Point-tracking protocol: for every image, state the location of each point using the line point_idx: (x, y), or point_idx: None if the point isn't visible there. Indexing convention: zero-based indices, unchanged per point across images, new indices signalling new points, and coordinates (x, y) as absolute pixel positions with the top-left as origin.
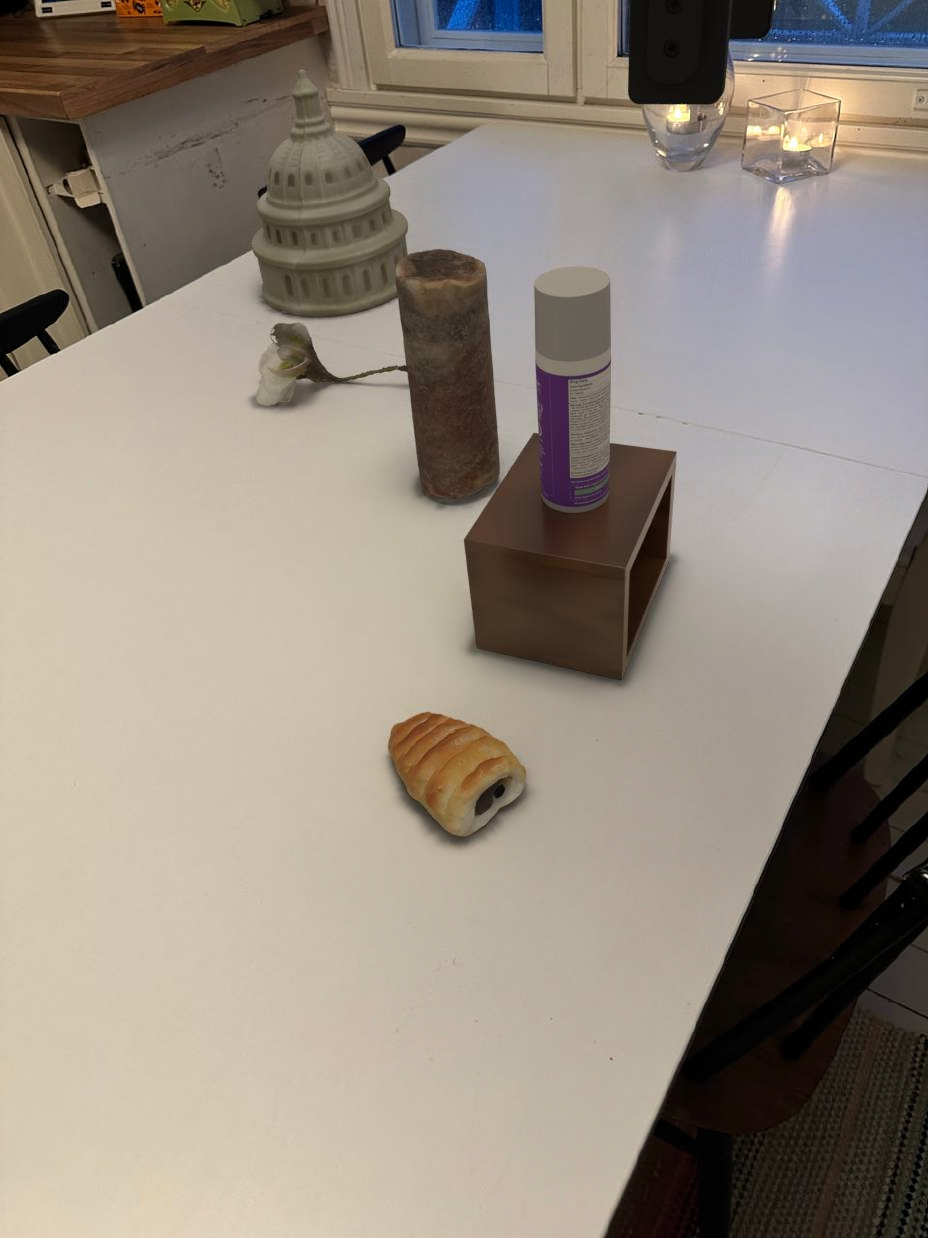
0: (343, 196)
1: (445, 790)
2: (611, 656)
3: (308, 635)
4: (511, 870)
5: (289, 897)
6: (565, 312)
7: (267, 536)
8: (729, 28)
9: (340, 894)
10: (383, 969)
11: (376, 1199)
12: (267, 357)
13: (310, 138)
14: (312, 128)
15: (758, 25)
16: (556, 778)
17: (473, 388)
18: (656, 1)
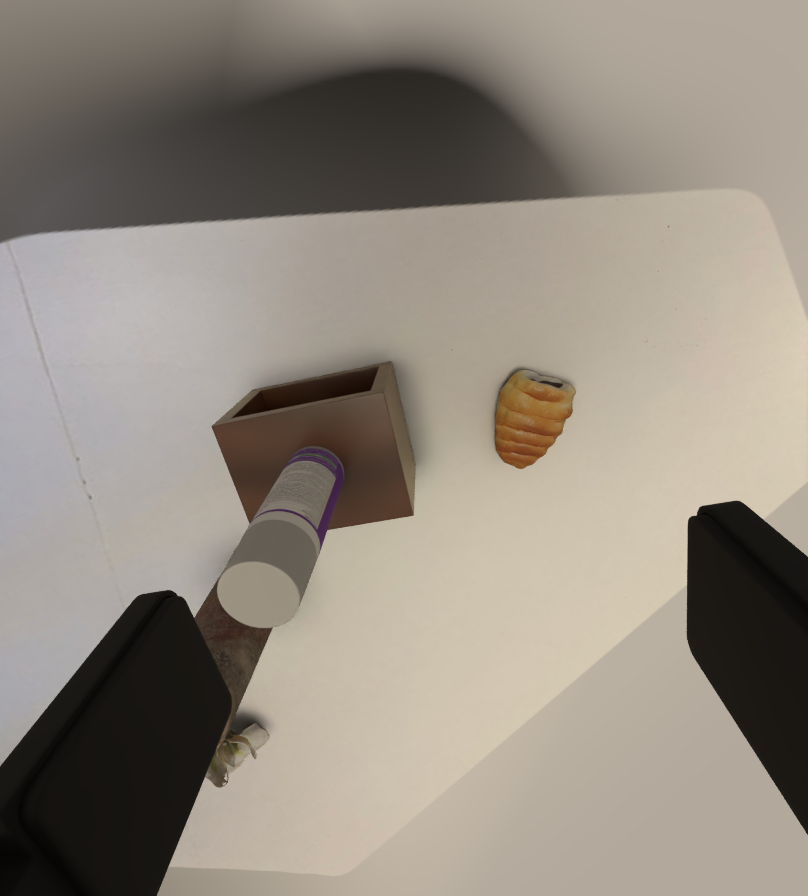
0: None
1: (566, 408)
2: (392, 374)
3: (460, 563)
4: (574, 345)
5: (644, 447)
6: (300, 574)
7: (391, 642)
8: (793, 579)
9: (631, 424)
10: (666, 374)
11: (785, 300)
12: (230, 767)
13: None
14: None
15: (178, 616)
16: (495, 357)
17: None
18: None
